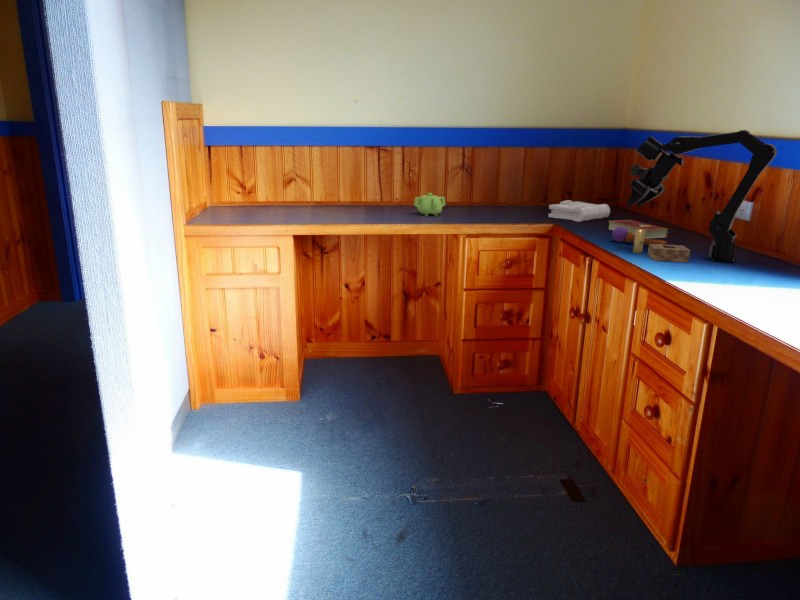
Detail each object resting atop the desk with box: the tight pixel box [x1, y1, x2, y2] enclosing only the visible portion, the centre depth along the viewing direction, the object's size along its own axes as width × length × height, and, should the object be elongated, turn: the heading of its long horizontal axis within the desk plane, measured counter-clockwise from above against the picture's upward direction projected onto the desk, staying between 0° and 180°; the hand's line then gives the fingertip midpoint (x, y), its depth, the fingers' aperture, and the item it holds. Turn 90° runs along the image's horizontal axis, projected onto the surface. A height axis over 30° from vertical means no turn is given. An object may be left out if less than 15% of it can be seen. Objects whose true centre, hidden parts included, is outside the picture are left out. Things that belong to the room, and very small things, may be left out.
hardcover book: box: [607, 219, 669, 239], centre depth 251 cm, size 12×21×4 cm, turn 22°
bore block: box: [647, 244, 691, 263], centre depth 207 cm, size 11×8×4 cm
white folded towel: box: [548, 199, 611, 223], centre depth 288 cm, size 19×28×8 cm
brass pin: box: [632, 229, 645, 254], centre depth 215 cm, size 3×3×8 cm
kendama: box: [611, 227, 668, 246], centre depth 228 cm, size 6×6×20 cm
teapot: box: [413, 192, 446, 217], centre depth 282 cm, size 12×12×10 cm
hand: (632, 206), depth 221 cm, fingers open, 9 cm apart
